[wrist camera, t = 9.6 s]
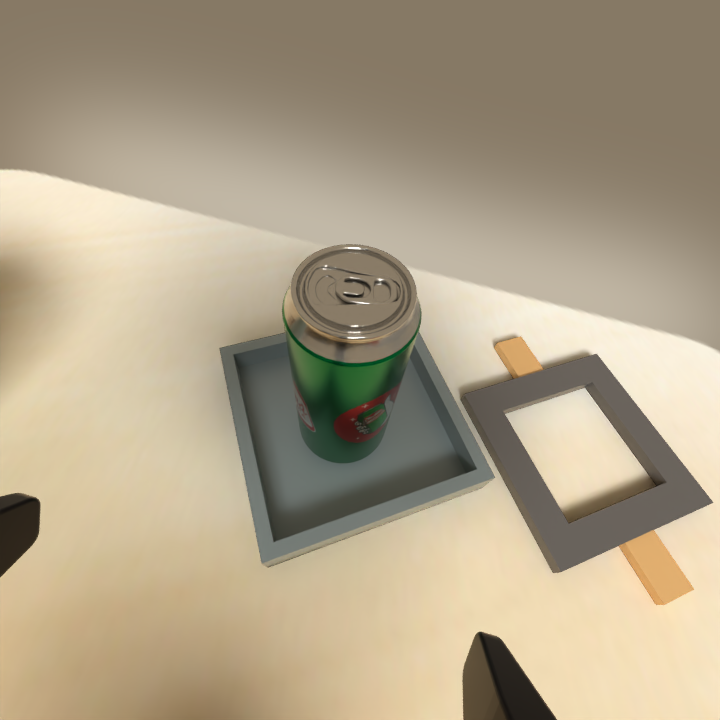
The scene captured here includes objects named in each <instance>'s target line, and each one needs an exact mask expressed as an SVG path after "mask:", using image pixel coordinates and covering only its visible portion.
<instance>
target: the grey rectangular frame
mask: <svg viewBox="0 0 720 720" xmlns="http://www.w3.org/2000/svg"><path fill="white" fill-rule="evenodd" d="M494 348H495V350H496V351H497V353H498V355H499V356H500V358H501V359H502V361H503V363H504V364H505V366H506V367H507V369H508V371H509V372H510V374H511V375H512V377H513V378H514V379H512V380H509V381H505V382H502V383H499V384H496V385H492V386H489V387H486V388H482V389H479V390H476V391H472V392H469V393H466V394H464V395H463V397H462V398H461V401H462V403H463V405H464V407H465V409H466V411H467V412H468V414H469V416H470V418H471V420H472V422H473V424H474V426H475V427H476V429H477V431H478V433H479V435H480V437H481V439H482V441H483V442H484V444H485V446H486V448H487V450H488V452H489V454H490V456H491V457H492V459H493V461H494V463H495V465H496V467H497V469H498V471H499V472H500V474H501V476H502V478H503V480H504V482H505V484H506V486H507V487H508V489H509V491H510V493H511V495H512V497H513V499H514V501H515V502H516V504H517V506H518V508H519V510H520V512H521V514H522V516H523V517H524V519H525V521H526V523H527V525H528V527H529V529H530V531H531V532H532V534H533V536H534V538H535V540H536V542H537V544H538V546H539V547H540V549H541V551H542V553H543V555H544V557H545V559H546V561H547V562H548V564H549V566H550V568H551V570H552V572H553V573H558V572H562V571H564V570H567V569H569V568H571V567H573V566H575V565H578V564H580V563H582V562H584V561H586V560H588V559H591V558H593V557H595V556H597V555H599V554H602V553H604V552H606V551H608V550H610V549H613V548H615V547H617V546H619V547H620V548H621V550H622V551H623V553H624V555H625V556H626V558H627V559H628V561H629V563H630V564H631V566H632V567H633V569H634V571H635V572H636V574H637V575H638V577H639V578H640V580H641V582H642V583H643V585H644V586H645V588H646V590H647V591H648V593H649V594H650V596H651V598H652V599H653V601H654V602H655V604H656V605H665V604H667V603H669V602H671V601H673V600H675V599H677V598H678V597H680V596H682V595H684V594H686V593H688V592H690V591H692V590H694V588H693V587H692V585H691V584H690V582H689V581H688V579H687V578H686V577H685V575H684V574H683V572H682V571H681V569H680V568H679V566H678V565H677V563H676V562H675V561H674V559H673V558H672V556H671V555H670V553H669V552H668V550H667V549H666V547H665V546H664V544H663V543H662V542H661V540H660V539H659V537H658V536H657V534H656V533H655V531H654V529H657V528H659V527H661V526H663V525H665V524H668V523H670V522H672V521H674V520H676V519H679V518H681V517H683V516H685V515H687V514H689V513H692V512H694V511H696V510H698V509H700V508H703V507H705V506H707V505H709V504H711V503H713V502H712V500H711V499H710V498H709V496H708V495H707V494H706V493H705V491H704V490H703V489H702V488H701V486H700V485H699V484H698V482H697V481H696V480H695V479H694V477H693V476H692V475H691V473H690V472H689V471H688V470H687V468H686V467H685V466H684V465H683V463H682V462H681V461H680V459H679V458H678V457H677V456H676V454H675V453H674V452H673V451H672V449H671V448H670V447H669V445H668V444H667V443H666V442H665V440H664V439H663V438H662V437H661V435H660V434H659V433H658V431H657V430H656V429H655V428H654V426H653V425H652V424H651V422H650V421H649V420H648V419H647V417H646V416H645V415H644V414H643V412H642V411H641V410H640V408H639V407H638V406H637V405H636V403H635V402H634V401H633V400H632V398H631V397H630V396H629V394H628V393H627V392H626V391H625V389H624V388H623V387H622V386H621V384H620V383H619V382H618V380H617V379H616V378H615V377H614V375H613V374H612V373H611V371H610V370H609V369H608V368H607V366H606V365H605V364H604V363H603V361H602V360H601V359H600V357H599V356H598V355H597V354H594V355H591V356H588V357H584V358H581V359H578V360H575V361H571V362H568V363H565V364H561V365H558V366H555V367H551V368H548V369H545V370H544V369H543V368H542V366H541V365H540V363H539V362H538V360H537V359H536V357H535V356H534V355H533V353H532V352H531V350H530V349H529V347H528V346H527V344H526V343H525V341H524V340H523V339H522V337H517V338H513V339H510V340H506V341H503V342H499V343H497V344H496V346H495V347H494ZM582 388H586V389H587V390H588V392H589V393H590V395H591V396H592V397H593V399H594V400H595V401H596V403H597V404H598V406H599V407H600V408H601V410H602V411H603V412H604V414H605V415H606V417H607V418H608V419H609V421H610V422H611V423H612V425H613V426H614V427H615V429H616V430H617V432H618V433H619V434H620V436H621V437H622V438H623V440H624V441H625V443H626V444H627V445H628V447H629V448H630V449H631V451H632V452H633V454H634V455H635V456H636V458H637V459H638V460H639V462H640V463H641V465H642V466H643V467H644V469H645V470H646V471H647V473H648V474H649V476H650V477H651V478H652V480H653V481H654V482H655V484H656V485H657V486H656V487H653V488H651V489H649V490H646V491H644V492H641V493H639V494H637V495H634V496H632V497H630V498H627V499H625V500H623V501H620V502H618V503H615V504H613V505H611V506H608V507H606V508H604V509H601V510H599V511H596V512H594V513H592V514H589V515H587V516H585V517H582V518H580V519H578V520H575V521H573V522H570V523H568V521H567V520H566V518H565V516H564V515H563V513H562V511H561V510H560V508H559V506H558V504H557V503H556V501H555V499H554V498H553V496H552V494H551V492H550V491H549V489H548V487H547V486H546V484H545V482H544V480H543V479H542V477H541V475H540V474H539V472H538V470H537V469H536V467H535V465H534V463H533V462H532V460H531V458H530V457H529V455H528V453H527V451H526V450H525V448H524V446H523V445H522V443H521V441H520V439H519V438H518V436H517V434H516V433H515V431H514V429H513V428H512V426H511V424H510V422H509V421H508V419H507V417H506V416H505V414H506V413H509V412H512V411H515V410H518V409H521V408H524V407H527V406H530V405H533V404H536V403H539V402H542V401H546V400H549V399H552V398H555V397H558V396H561V395H564V394H567V393H570V392H573V391H576V390H579V389H582Z"/></svg>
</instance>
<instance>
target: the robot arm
mask: <svg viewBox="0 0 720 720" xmlns="http://www.w3.org/2000/svg"><path fill="white" fill-rule="evenodd" d="M39 525H40V501H39V499H37V498H36V497H32V496H29V495H26V494H22V493H14V494H10V495H5V496H1V497H0V577H1V576H2V575H3V574H4V573H5V572H6V571H7V570H8V569H9V568H10V567H11V566H12V565H13V564H14V563H15V562H16V561H17V560H18V559H19V558H20V557H21V556H22V555H23V554H24V553H25V552H26V551H27V550H28V549H29V548H30V547H31V546H32V545H33V543H34V542H35V541H36V539H37V537H38V534H39ZM463 720H557V719H556V717H555V716H554V715H553V713H552V712H551V710H550V709H549V707H548V706H547V704H546V703H545V701H544V700H543V699H542V697H541V696H540V694H539V693H538V691H537V690H536V688H535V687H534V686H533V684H532V683H531V681H530V680H529V678H528V677H527V675H526V674H525V673H524V671H523V670H522V668H521V667H520V665H519V664H518V662H517V661H516V660H515V658H514V657H513V655H512V654H511V652H510V651H509V649H508V648H507V646H506V645H505V644H504V642H503V641H502V640H501V639H500V638H499V637H497V636H494V635H490V634H487V633H484V632H478V633H477V634H476V635H475V637H474V640H473V642H472V645H471V648H470V651H469V653H468V656H467V659H466V662H465V665H464V669H463Z"/></svg>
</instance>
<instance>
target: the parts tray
mask: <svg viewBox="0 0 720 720" xmlns="http://www.w3.org/2000/svg"><path fill="white" fill-rule="evenodd" d="M220 353H221V358H222V363H223V368H224V373H225V379H226V384H227V389H228V394H229V399H230V404H231V409H232V414H233V419H234V424H235V430H236V435H237V440H238V445H239V450H240V455H241V460H242V465H243V470H244V475H245V480H246V486H247V491H248V496H249V501H250V506H251V511H252V516H253V521H254V526H255V531H256V537H257V542H258V547H259V552H260V557H261V562H262V564H263V565H265V566H267V567H271V566H274V565H276V564H279V563H282V562H284V561H287V560H290V559H292V558H295V557H298V556H300V555H303V554H306V553H308V552H311V551H314V550H316V549H319V548H322V547H325V546H327V545H330V544H333V543H335V542H338V541H341V540H343V539H346V538H349V537H351V536H354V535H357V534H359V533H362V532H365V531H368V530H370V529H373V528H376V527H378V526H381V525H384V524H386V523H389V522H392V521H394V520H397V519H400V518H402V517H405V516H408V515H410V514H413V513H416V512H419V511H421V510H424V509H427V508H429V507H432V506H435V505H437V504H440V503H443V502H445V501H448V500H451V499H453V498H456V497H459V496H461V495H464V494H467V493H470V492H472V491H475V490H478V489H480V488H482V487H483V486H485V485H486V484H487V483H489V482H490V481H491V480H493V479H494V478H495V476H494V474H493V473H492V471H491V469H490V467H489V465H488V463H487V461H486V459H485V457H484V455H483V453H482V452H481V450H480V448H479V446H478V444H477V442H476V440H475V438H474V436H473V434H472V432H471V431H470V429H469V427H468V425H467V423H466V421H465V419H464V417H463V415H462V413H461V411H460V410H459V408H458V406H457V404H456V402H455V400H454V398H453V396H452V394H451V392H450V390H449V389H448V387H447V385H446V383H445V381H444V379H443V377H442V375H441V373H440V371H439V370H438V368H437V366H436V364H435V362H434V360H433V358H432V356H431V354H430V352H429V350H428V349H427V347H426V345H425V343H424V341H423V339H422V337H421V335H420V333H419V331H418V334H417V337H416V340H415V343H414V346H413V349H412V352H411V355H410V358H409V361H408V364H407V367H406V370H405V373H404V376H403V379H402V382H401V385H400V388H399V391H398V394H397V397H396V400H395V403H394V406H393V409H392V412H391V415H390V418H389V421H388V424H387V427H386V430H385V433H384V436H383V438H382V441H381V443H380V444H379V446H378V447H377V448H376V449H375V450H374V451H373V452H372V453H371V454H370V455H368V456H367V457H365V458H363V459H361V460H359V461H356V462H352V463H333V462H330V461H326V460H324V459H322V458H320V457H318V456H317V455H316V454H314V453H313V452H312V451H311V450H310V449H309V448H308V446H307V445H306V444H305V442H304V440H303V438H302V435H301V432H300V427H299V420H298V414H297V407H296V401H295V394H294V388H293V381H292V375H291V368H290V361H289V355H288V348H287V342H286V335H285V333H282V334H278V335H273V336H269V337H265V338H261V339H256V340H252V341H248V342H243V343H239V344H235V345H231V346H226V347H222V348H220Z"/></svg>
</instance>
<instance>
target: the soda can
mask: <svg viewBox="0 0 720 720" xmlns="http://www.w3.org/2000/svg"><path fill="white" fill-rule="evenodd" d="M282 314H283V322H284V329H285V335H286V342H287V348H288V355H289V361H290V368H291V375H292V381H293V388H294V394H295V401H296V407H297V414H298V420H299V427H300V432H301V435H302V438H303V440H304V442H305V444H306V445H307V446H308V448H309V449H310V450H311V451H312V452H313V453H314V454H316V455H317V456H318V457H320V458H322V459H324V460H326V461H330V462H333V463H352V462H356V461H359V460H361V459H363V458H365V457H367V456H368V455H370V454H371V453H372V452H373V451H374V450H375V449H376V448H377V447H378V446H379V444H380V443H381V441H382V438H383V436H384V433H385V430H386V427H387V424H388V421H389V418H390V415H391V412H392V409H393V406H394V403H395V400H396V397H397V394H398V391H399V388H400V385H401V382H402V379H403V376H404V373H405V370H406V367H407V364H408V361H409V358H410V355H411V352H412V349H413V346H414V343H415V340H416V337H417V334H418V331H419V328H420V324H421V308H420V303H419V300H418V298H417V292H416V285H415V283H414V280H413V277H412V276H411V274H410V272H409V271H408V270H407V268H406V267H405V266H404V265H403V264H402V263H401V262H400V261H398V260H397V259H396V258H394V257H393V256H391V255H390V254H388V253H386V252H384V251H381V250H379V249H376V248H373V247H369V246H363V245H353V244H346V245H337V246H332V247H328V248H325V249H322V250H320V251H318V252H315V253H314V254H312V255H311V256H309V257H308V258H306V259H305V260H304V261H303V262H302V263H301V264H300V266H299V267H298V268H297V270H296V272H295V273H294V275H293V279H292V282H291V285H290V286H289V288H288V290H287V292H286V294H285V297H284V300H283V307H282Z"/></svg>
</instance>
